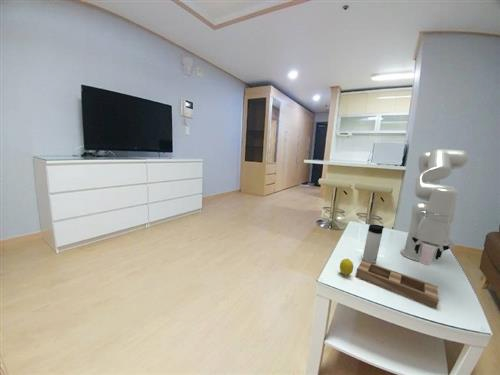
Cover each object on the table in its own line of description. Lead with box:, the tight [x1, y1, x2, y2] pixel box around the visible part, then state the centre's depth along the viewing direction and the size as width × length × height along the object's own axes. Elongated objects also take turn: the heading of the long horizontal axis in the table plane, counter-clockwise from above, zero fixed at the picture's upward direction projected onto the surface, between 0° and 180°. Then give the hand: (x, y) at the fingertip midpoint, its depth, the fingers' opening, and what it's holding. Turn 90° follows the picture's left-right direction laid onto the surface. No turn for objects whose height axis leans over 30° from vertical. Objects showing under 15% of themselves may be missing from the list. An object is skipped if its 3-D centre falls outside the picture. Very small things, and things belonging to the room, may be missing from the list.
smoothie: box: [418, 241, 439, 266], centre depth 93 cm, size 6×6×14 cm
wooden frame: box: [355, 259, 440, 310], centre depth 92 cm, size 11×28×4 cm, turn 51°
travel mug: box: [361, 223, 385, 265], centre depth 110 cm, size 6×7×20 cm
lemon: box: [339, 258, 354, 276], centre depth 97 cm, size 6×6×8 cm
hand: (426, 254), depth 93 cm, fingers closed on smoothie, 6 cm apart
